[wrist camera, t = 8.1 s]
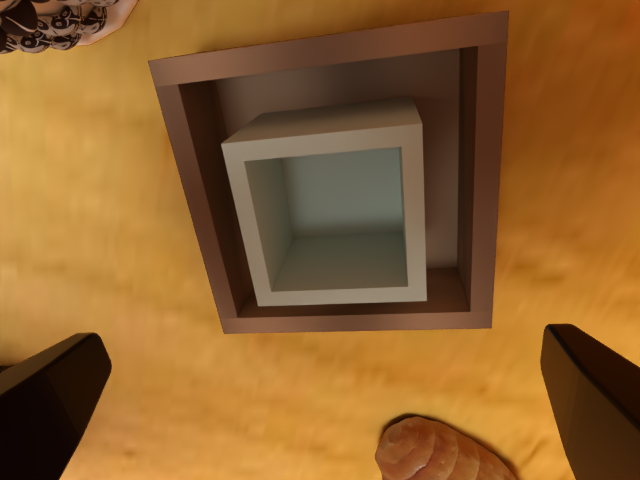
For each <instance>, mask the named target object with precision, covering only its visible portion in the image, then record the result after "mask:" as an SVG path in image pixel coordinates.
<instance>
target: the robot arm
mask: <svg viewBox="0 0 640 480" xmlns="http://www.w3.org/2000/svg"><path fill="white" fill-rule="evenodd" d="M540 363H541V371H542V375H543V378H544V382H545V385H546V389H547V392H548V396H549V399H550V403H551V406H552V410H553V413H554V417H555V420H556V424H557V427H558V430H559V434H560V437H561V441H562V444H563V447H564V450H565V453H566V456H567V459H568V461H569V464H570V466H571V469H572V471H573V474H574V476H575V479H576V480H640V367H638V366H637V365H635V364H634V363H632V362H630V361H629V360H627V359H626V358H624V357H623V356H621V355H620V354H618V353H616V352H615V351H613V350H612V349H610V348H609V347H607V346H605V345H604V344H602V343H601V342H599V341H598V340H596V339H595V338H593V337H591V336H590V335H588V334H587V333H585V332H584V331H582V330H580V329H579V328H577V327H576V326H574V325H572V324H548V325H547V326H546V327H545V329H544V335H543V343H542V351H541V360H540ZM111 368H112V364H111V360H110V358H109V355H108V353H107V351H106V348H105V346H104V344H103V342H102V339H101V337H100V336H99V335H98V334H96V333H77V334H75V335H73V336H71V337H69V338H67V339H65V340H63V341H61V342H59V343H57V344H55V345H53V346H51V347H49V348H48V349H46V350H44V351H42V352H40V353H38V354H36V355H34V356H32V357H30V358H28V359H26V360H24V361H22V362H20V363H19V364H17V365H15V366H13V367H0V480H59V479H60V477H61V476H62V474H63V472H64V470H65V468H66V466H67V465H68V463H69V461H70V459H71V457H72V456H73V454H74V452H75V450H76V448H77V446H78V444H79V442H80V441H81V439H82V436H83V434H84V432H85V430H86V428H87V426H88V423H89V421H90V419H91V416H92V414H93V412H94V410H95V407H96V405H97V403H98V401H99V398H100V396H101V394H102V391H103V389H104V387H105V385H106V382H107V380H108V378H109V376H110V373H111Z"/></svg>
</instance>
